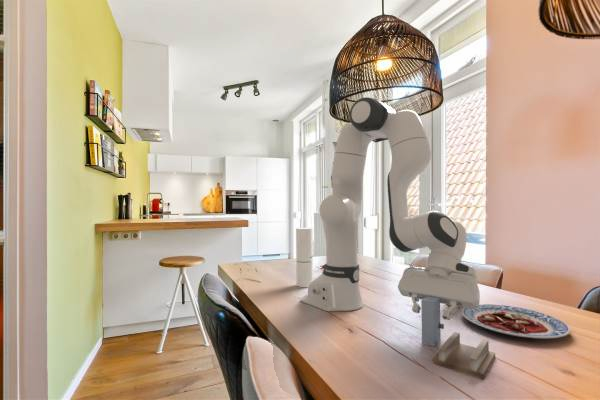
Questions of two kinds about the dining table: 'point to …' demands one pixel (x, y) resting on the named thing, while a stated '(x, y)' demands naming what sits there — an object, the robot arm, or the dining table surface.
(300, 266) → the cylindrical container
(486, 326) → the ceramic plate
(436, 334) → the upright grey pillar
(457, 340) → the floor track
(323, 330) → the dining table surface
